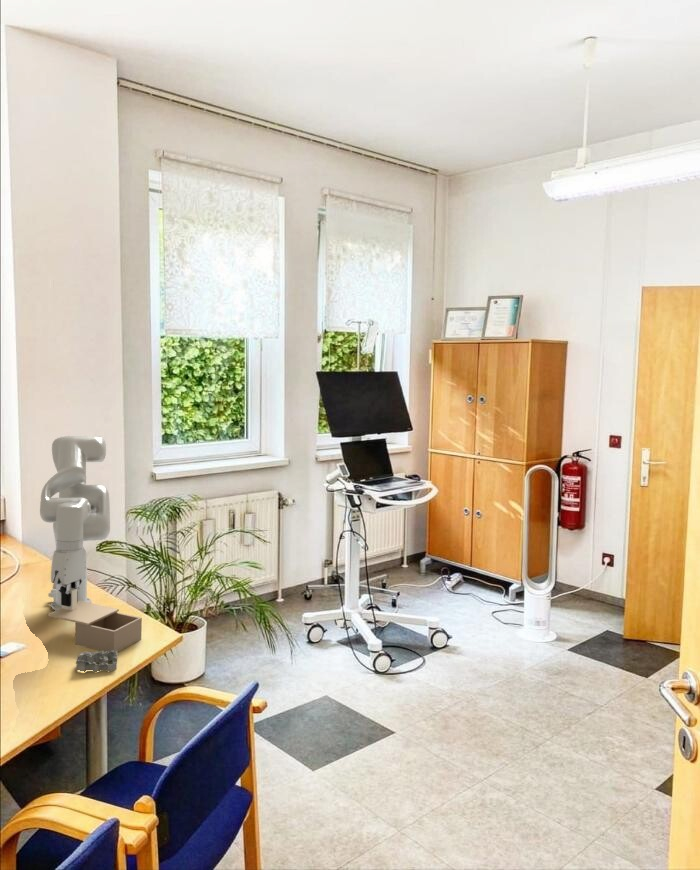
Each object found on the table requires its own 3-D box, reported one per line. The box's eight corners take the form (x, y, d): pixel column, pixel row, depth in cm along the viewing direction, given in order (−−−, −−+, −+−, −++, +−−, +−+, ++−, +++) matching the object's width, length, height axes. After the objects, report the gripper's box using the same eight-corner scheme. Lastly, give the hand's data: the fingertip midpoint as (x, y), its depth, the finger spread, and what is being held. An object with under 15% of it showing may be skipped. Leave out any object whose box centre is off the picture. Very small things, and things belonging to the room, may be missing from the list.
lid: (47, 616, 208) (47, 594, 207) (79, 602, 220) (79, 581, 219) (88, 625, 202) (88, 603, 202) (118, 611, 214) (119, 589, 214)
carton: (75, 644, 206) (75, 622, 205) (103, 630, 217) (104, 609, 216) (114, 654, 200) (114, 631, 200) (141, 639, 212) (141, 617, 211)
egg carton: (74, 675, 187) (74, 661, 187) (78, 663, 194) (77, 649, 194) (116, 673, 190) (116, 658, 189) (118, 660, 197) (118, 646, 196)
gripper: (78, 536, 220) (78, 594, 222) (39, 549, 205) (39, 610, 207) (98, 540, 217) (97, 598, 219) (59, 552, 202) (59, 615, 204)
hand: (69, 603), depth 213 cm, fingers closed on lid, 2 cm apart
